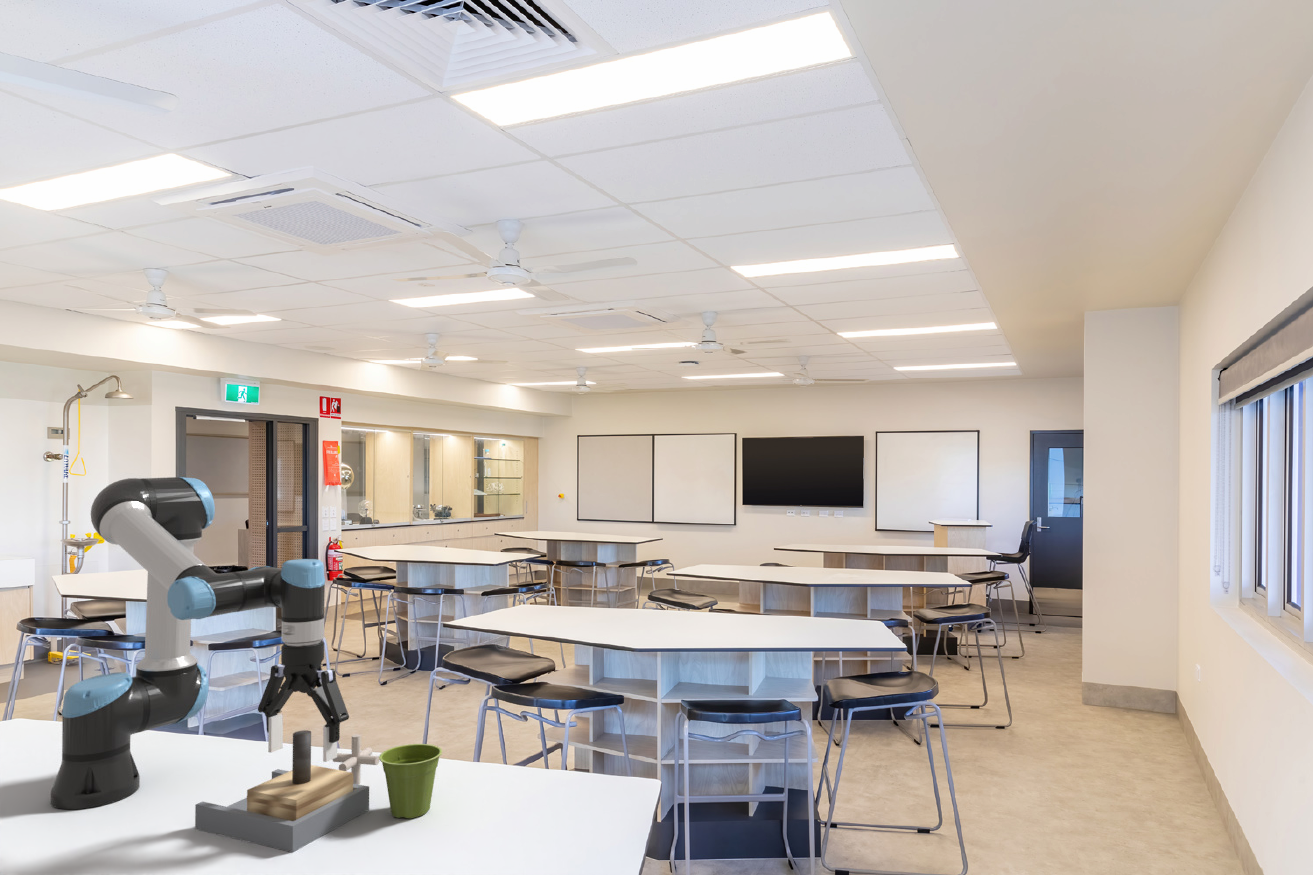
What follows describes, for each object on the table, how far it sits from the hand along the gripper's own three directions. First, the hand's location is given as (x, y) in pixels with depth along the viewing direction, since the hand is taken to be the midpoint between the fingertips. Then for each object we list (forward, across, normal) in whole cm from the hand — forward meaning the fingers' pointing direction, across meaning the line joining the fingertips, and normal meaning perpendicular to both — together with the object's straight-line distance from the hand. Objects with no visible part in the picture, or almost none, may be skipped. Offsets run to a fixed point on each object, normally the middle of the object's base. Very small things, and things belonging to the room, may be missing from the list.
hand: (302, 754), depth 156 cm
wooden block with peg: (+11, 0, 0) cm, 11 cm away
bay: (+13, -4, 0) cm, 13 cm away
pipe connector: (+13, -4, +19) cm, 23 cm away
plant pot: (+13, +16, +12) cm, 24 cm away
